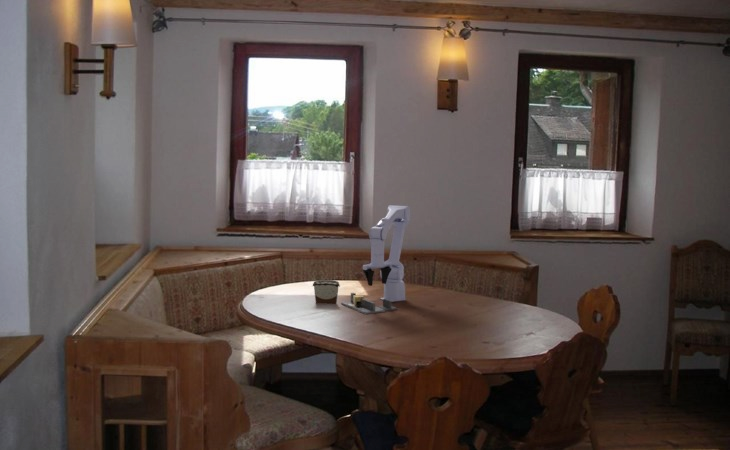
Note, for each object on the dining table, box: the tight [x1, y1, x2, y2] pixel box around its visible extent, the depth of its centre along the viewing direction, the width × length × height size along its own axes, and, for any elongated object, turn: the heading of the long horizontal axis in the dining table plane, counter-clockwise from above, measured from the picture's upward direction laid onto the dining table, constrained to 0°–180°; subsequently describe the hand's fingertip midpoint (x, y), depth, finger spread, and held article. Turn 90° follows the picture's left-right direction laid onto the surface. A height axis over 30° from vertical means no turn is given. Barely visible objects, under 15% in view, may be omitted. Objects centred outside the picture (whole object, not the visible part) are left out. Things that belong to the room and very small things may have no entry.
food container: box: [312, 279, 341, 306], centre depth 350 cm, size 12×6×10 cm, turn 84°
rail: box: [340, 292, 386, 315], centre depth 341 cm, size 10×21×5 cm, turn 31°
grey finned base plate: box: [377, 299, 398, 312], centre depth 340 cm, size 6×7×4 cm
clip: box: [353, 294, 365, 305], centre depth 344 cm, size 4×4×4 cm
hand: (377, 284), depth 341 cm, fingers open, 7 cm apart
